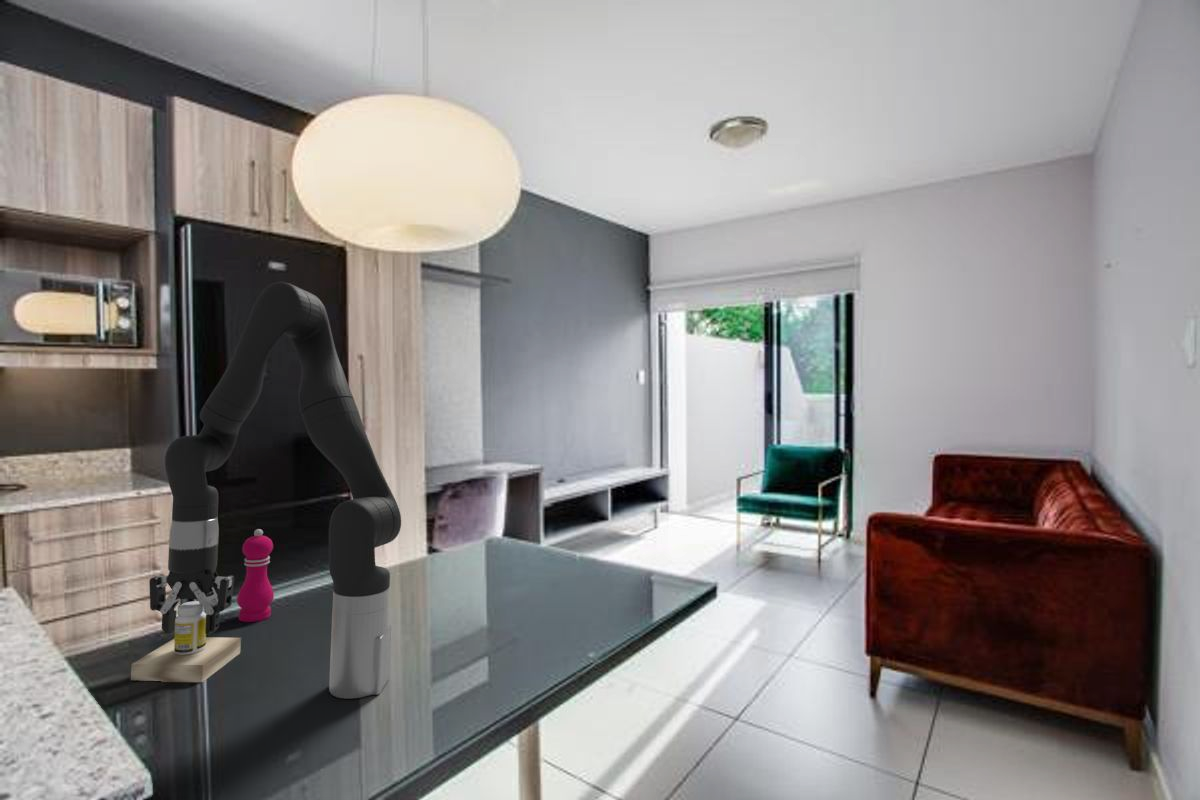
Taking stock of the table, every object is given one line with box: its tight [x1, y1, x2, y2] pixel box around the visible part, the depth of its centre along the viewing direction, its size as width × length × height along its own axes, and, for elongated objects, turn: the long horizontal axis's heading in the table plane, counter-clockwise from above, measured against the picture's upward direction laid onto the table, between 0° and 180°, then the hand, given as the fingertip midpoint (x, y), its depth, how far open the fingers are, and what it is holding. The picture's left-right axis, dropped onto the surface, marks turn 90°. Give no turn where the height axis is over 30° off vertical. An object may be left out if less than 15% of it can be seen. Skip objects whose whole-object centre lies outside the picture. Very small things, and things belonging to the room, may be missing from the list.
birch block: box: [130, 636, 242, 683], centre depth 108 cm, size 12×12×3 cm
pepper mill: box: [236, 528, 275, 623], centre depth 133 cm, size 7×7×20 cm
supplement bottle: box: [174, 600, 207, 655], centre depth 108 cm, size 5×5×8 cm
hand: (190, 632), depth 108 cm, fingers open, 6 cm apart
